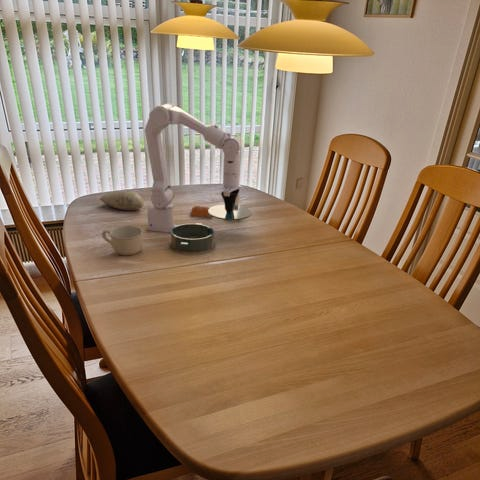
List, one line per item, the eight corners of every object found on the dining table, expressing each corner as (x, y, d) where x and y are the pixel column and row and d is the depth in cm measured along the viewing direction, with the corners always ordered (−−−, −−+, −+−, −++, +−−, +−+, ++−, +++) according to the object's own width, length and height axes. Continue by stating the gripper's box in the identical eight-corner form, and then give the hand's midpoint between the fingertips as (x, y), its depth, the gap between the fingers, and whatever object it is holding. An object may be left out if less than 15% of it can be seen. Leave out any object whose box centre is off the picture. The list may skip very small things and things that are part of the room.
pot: (163, 254, 152) (162, 239, 149) (180, 233, 169) (180, 219, 166) (205, 259, 150) (205, 244, 147) (219, 237, 167) (219, 223, 164)
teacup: (149, 249, 155) (148, 227, 150) (133, 261, 146) (131, 238, 142) (115, 242, 158) (112, 221, 154) (97, 254, 149) (94, 231, 145)
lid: (203, 219, 159) (203, 202, 156) (213, 205, 172) (213, 189, 169) (247, 223, 157) (248, 207, 154) (254, 209, 170) (255, 194, 167)
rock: (132, 214, 181) (98, 207, 190) (151, 209, 190) (117, 202, 199) (131, 196, 178) (96, 189, 187) (150, 191, 186) (116, 185, 195)
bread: (190, 217, 184) (190, 207, 182) (193, 213, 188) (193, 203, 186) (209, 219, 183) (209, 209, 181) (212, 215, 187) (212, 205, 185)
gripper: (238, 179, 150) (236, 217, 157) (245, 169, 162) (243, 205, 169) (218, 177, 151) (217, 215, 158) (226, 167, 163) (225, 203, 170)
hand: (229, 210), depth 164 cm, fingers closed on lid, 2 cm apart
